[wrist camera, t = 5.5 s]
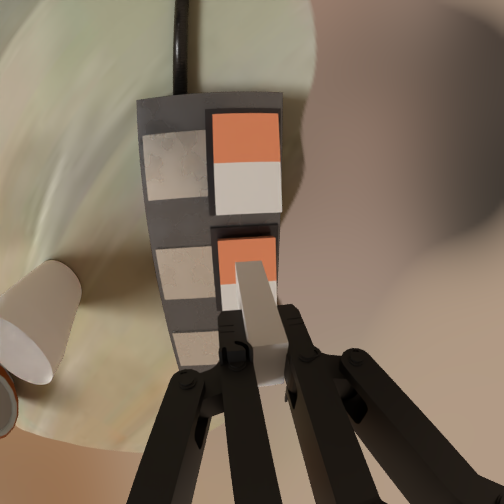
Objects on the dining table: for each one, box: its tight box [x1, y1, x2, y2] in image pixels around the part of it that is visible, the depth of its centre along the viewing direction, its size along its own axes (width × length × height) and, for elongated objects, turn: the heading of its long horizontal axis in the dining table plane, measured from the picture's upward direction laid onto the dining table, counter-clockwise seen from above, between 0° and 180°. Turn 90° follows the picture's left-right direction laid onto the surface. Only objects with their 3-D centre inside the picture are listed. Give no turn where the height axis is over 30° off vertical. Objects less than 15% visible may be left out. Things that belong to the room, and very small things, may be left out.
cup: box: [0, 260, 82, 385], centre depth 22 cm, size 9×9×12 cm
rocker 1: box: [212, 113, 282, 215], centre depth 19 cm, size 7×4×1 cm, turn 0°
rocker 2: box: [218, 236, 277, 311], centre depth 23 cm, size 7×4×1 cm, turn 0°
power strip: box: [137, 0, 283, 373], centre depth 23 cm, size 42×11×5 cm, turn 0°
